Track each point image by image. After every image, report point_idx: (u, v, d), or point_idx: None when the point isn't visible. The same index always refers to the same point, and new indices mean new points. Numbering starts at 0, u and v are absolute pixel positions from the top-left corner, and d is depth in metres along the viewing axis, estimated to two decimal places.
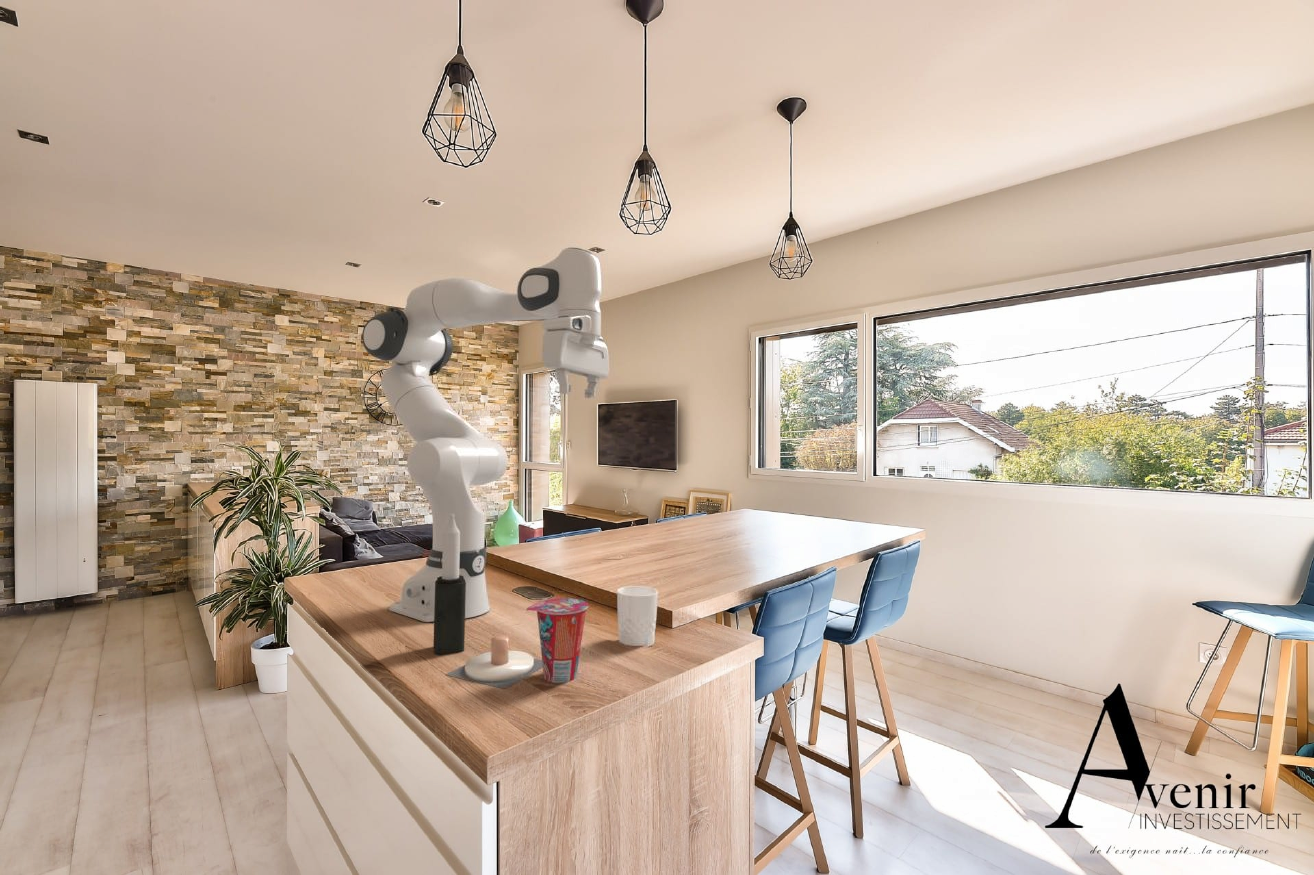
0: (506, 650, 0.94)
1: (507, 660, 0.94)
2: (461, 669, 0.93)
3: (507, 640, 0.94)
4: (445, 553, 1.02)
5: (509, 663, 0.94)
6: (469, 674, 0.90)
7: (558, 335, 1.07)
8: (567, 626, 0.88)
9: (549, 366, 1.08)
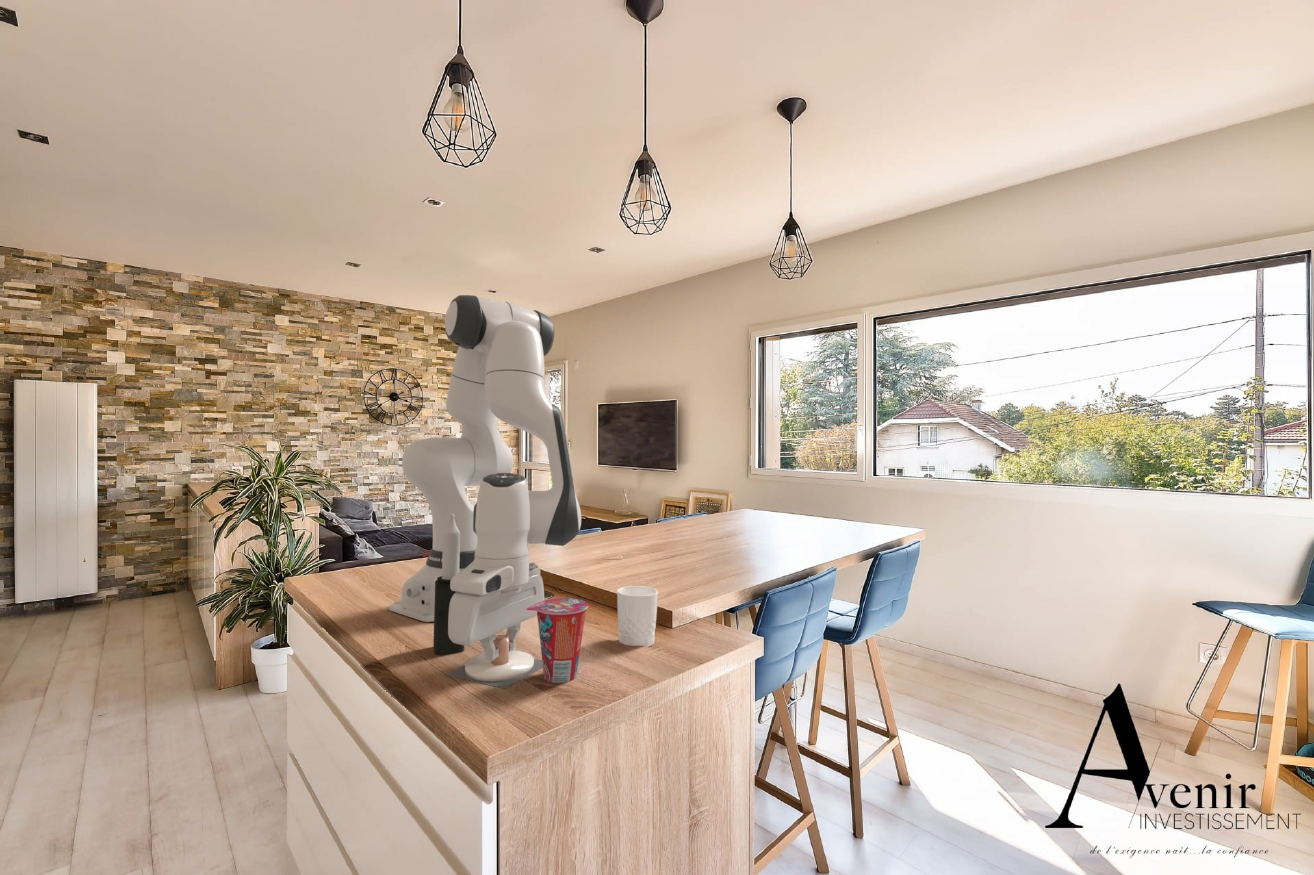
0: (507, 650, 0.94)
1: (507, 660, 0.94)
2: (461, 669, 0.93)
3: (507, 640, 0.94)
4: (445, 553, 1.02)
5: (509, 662, 0.94)
6: (469, 674, 0.90)
7: (466, 606, 0.85)
8: (567, 626, 0.88)
9: (456, 643, 0.86)
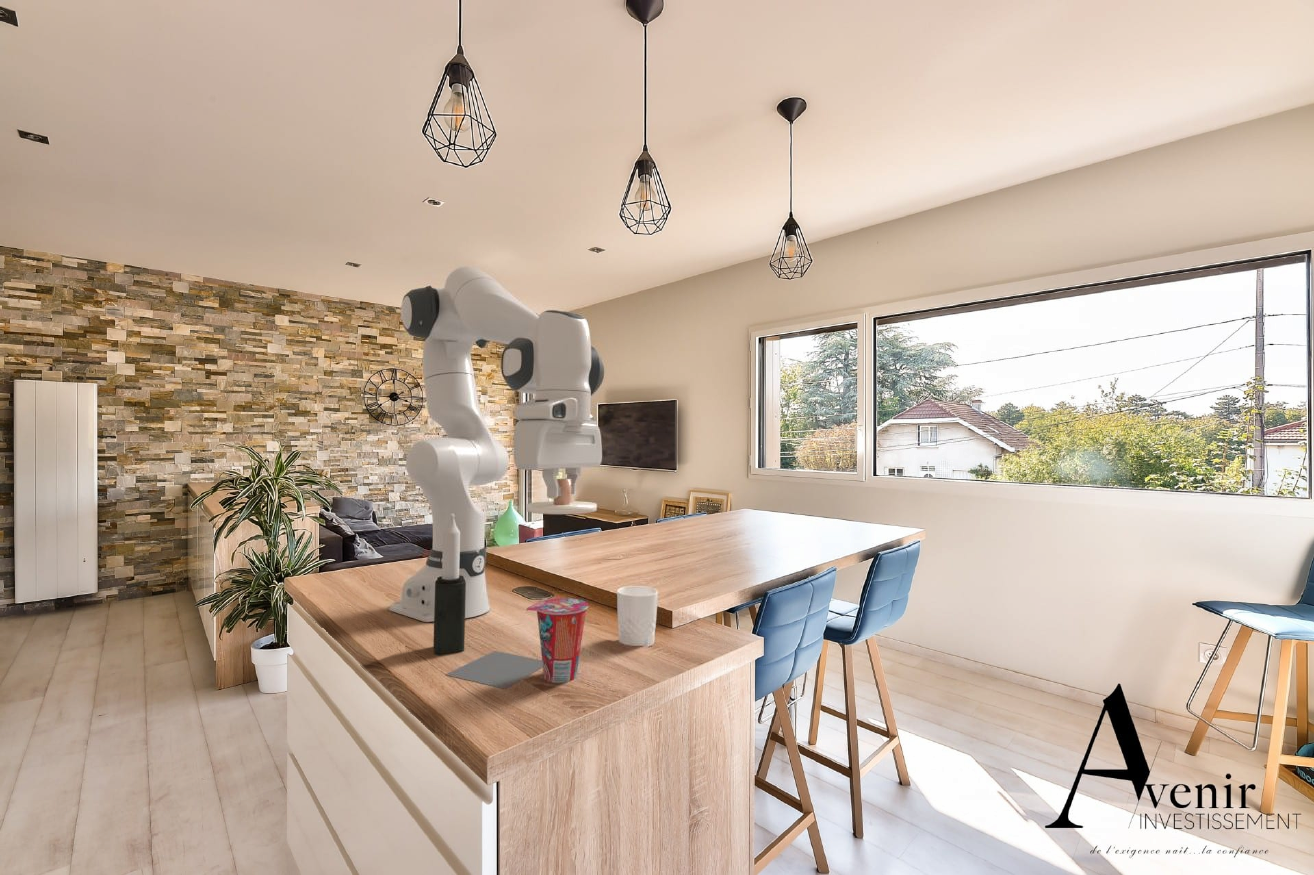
0: (569, 491, 0.90)
1: (570, 501, 0.91)
2: (461, 669, 0.93)
3: (570, 480, 0.91)
4: (445, 553, 1.02)
5: (572, 504, 0.91)
6: (533, 509, 0.87)
7: (533, 429, 0.82)
8: (567, 626, 0.88)
9: (522, 468, 0.83)
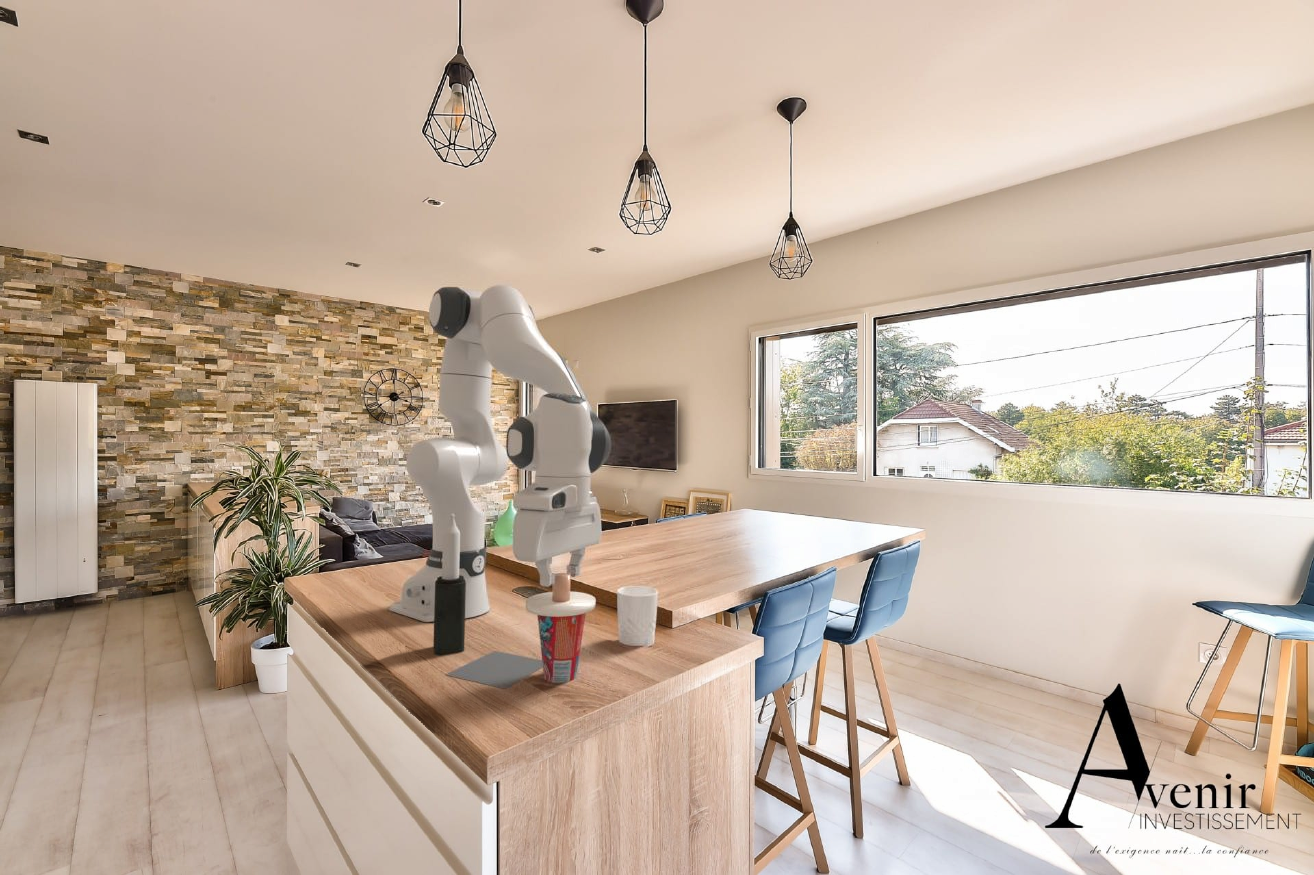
0: (568, 587, 0.90)
1: (569, 598, 0.91)
2: (461, 669, 0.93)
3: (569, 577, 0.91)
4: (445, 553, 1.02)
5: (571, 600, 0.91)
6: (532, 609, 0.87)
7: (532, 521, 0.82)
8: (567, 626, 0.88)
9: (521, 560, 0.83)
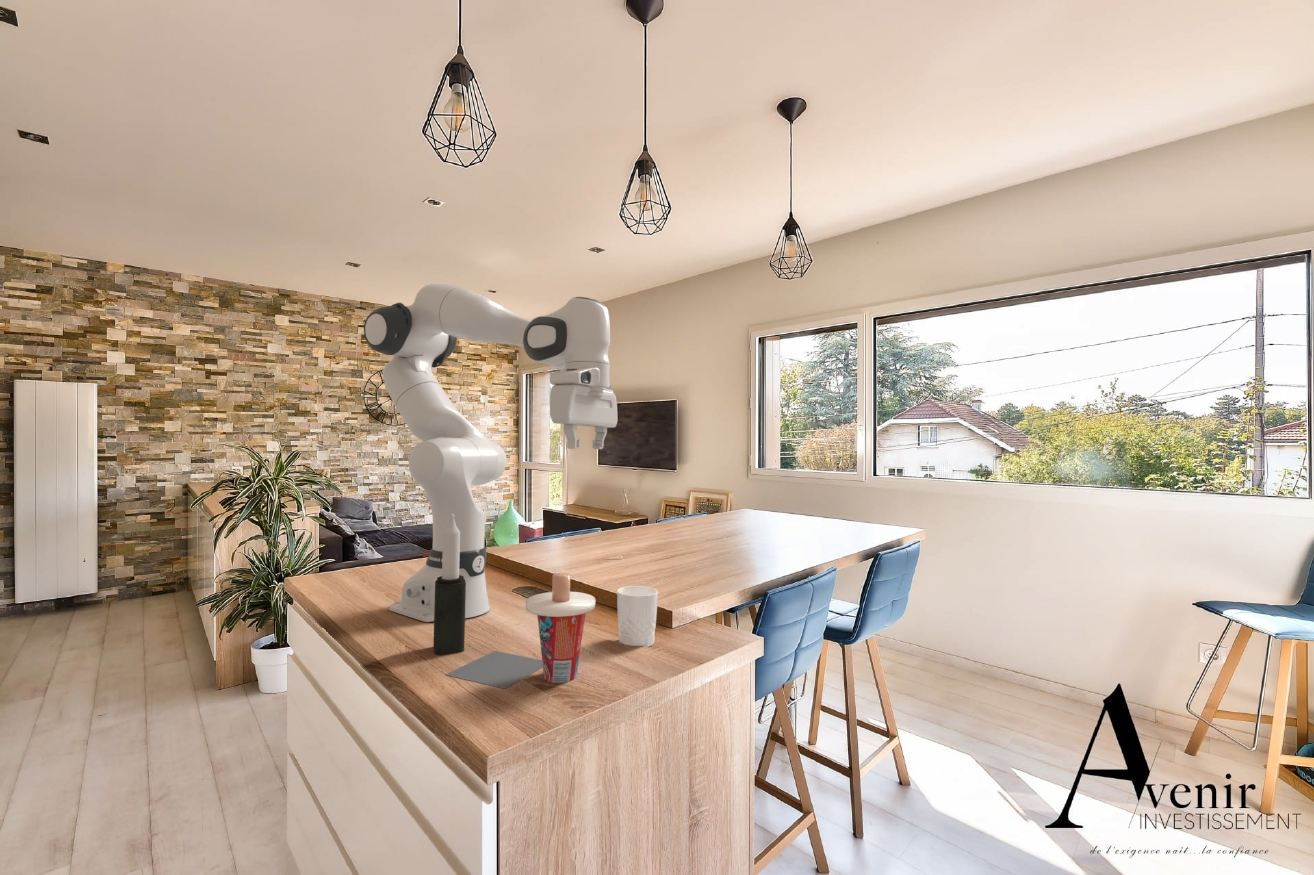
0: (568, 587, 0.90)
1: (569, 598, 0.91)
2: (461, 669, 0.93)
3: (569, 577, 0.91)
4: (445, 553, 1.02)
5: (571, 600, 0.91)
6: (532, 609, 0.87)
7: (566, 391, 1.04)
8: (567, 626, 0.88)
9: (557, 422, 1.04)
